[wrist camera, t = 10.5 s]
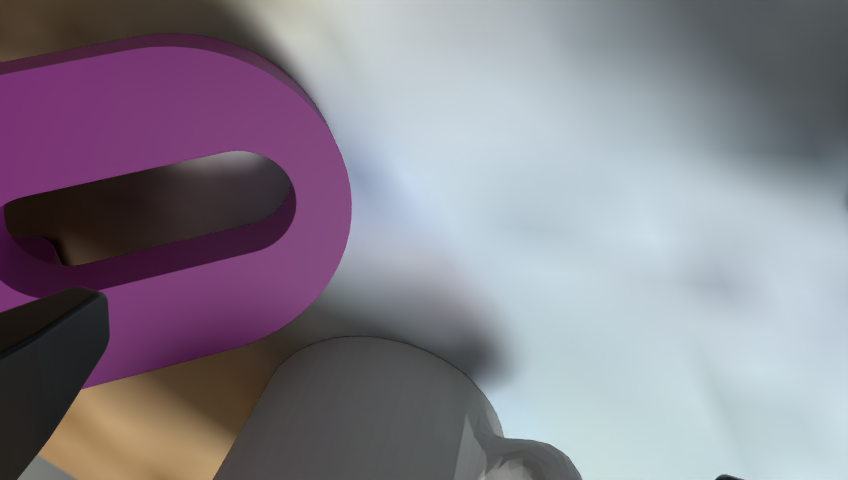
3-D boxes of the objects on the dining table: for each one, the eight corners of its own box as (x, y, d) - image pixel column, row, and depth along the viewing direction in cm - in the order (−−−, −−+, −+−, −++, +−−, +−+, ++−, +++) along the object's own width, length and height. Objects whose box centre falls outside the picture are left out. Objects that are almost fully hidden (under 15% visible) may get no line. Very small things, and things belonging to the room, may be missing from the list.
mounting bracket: (288, -17, 25) (-257, 81, 22) (314, 14, 18) (-494, 167, 15) (339, 211, 30) (-110, 318, 27) (376, 312, 22) (-238, 474, 19)
